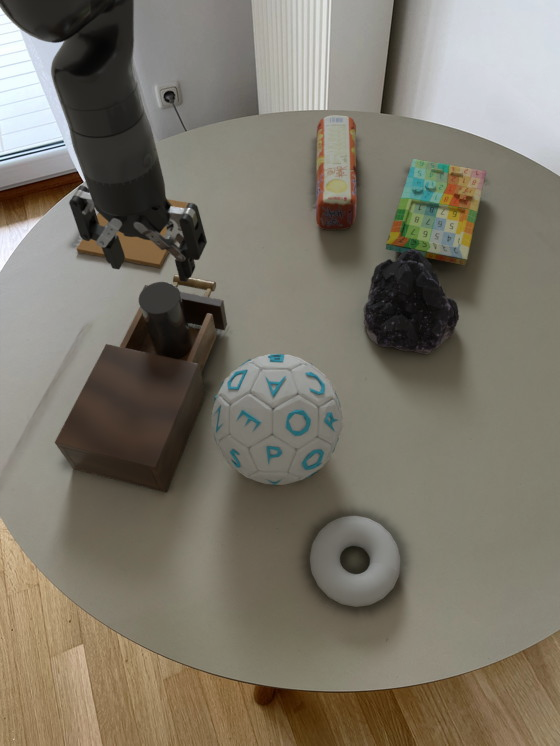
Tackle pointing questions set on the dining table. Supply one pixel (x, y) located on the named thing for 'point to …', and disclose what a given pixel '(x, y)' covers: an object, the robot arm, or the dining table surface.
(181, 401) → the cabinet
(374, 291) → the crystal cluster
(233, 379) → the puzzle ball
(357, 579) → the donut
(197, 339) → the drawer
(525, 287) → the dining table surface
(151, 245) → the cork mat
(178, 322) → the dark grey cylinder
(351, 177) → the snack package
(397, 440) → the dining table surface
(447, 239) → the puzzle game
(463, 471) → the dining table surface
